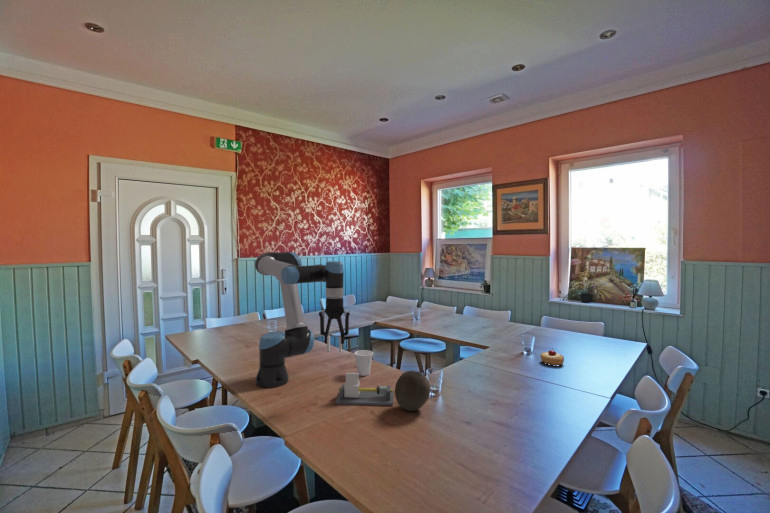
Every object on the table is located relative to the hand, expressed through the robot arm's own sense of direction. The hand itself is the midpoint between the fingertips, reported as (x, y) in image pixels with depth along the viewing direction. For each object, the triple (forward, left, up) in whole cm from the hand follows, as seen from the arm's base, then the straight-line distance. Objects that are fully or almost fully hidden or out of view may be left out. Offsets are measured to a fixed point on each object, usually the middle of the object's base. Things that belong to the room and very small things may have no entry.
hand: (334, 350), depth 154 cm
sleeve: (+8, 0, -19) cm, 21 cm away
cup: (+10, +29, -21) cm, 37 cm away
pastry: (+114, +52, -21) cm, 127 cm away
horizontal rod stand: (+14, 0, -21) cm, 25 cm away
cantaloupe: (+34, -8, -21) cm, 40 cm away
